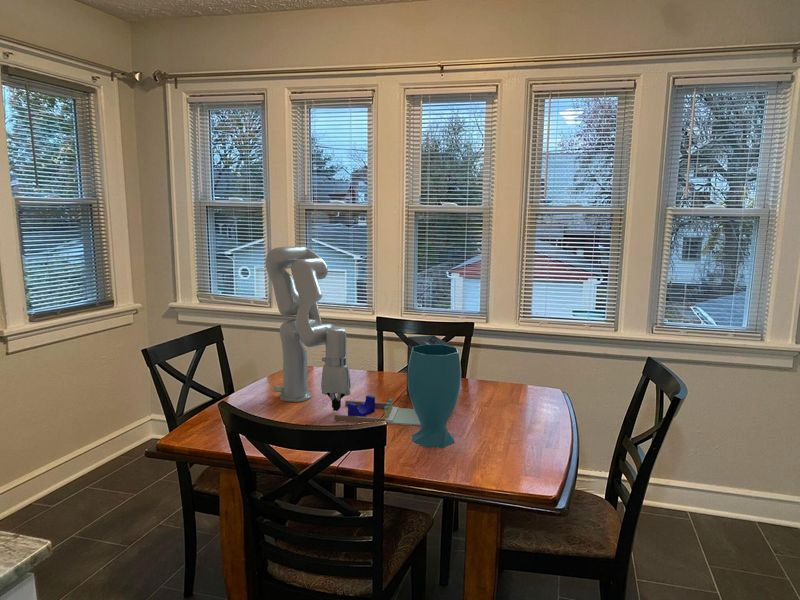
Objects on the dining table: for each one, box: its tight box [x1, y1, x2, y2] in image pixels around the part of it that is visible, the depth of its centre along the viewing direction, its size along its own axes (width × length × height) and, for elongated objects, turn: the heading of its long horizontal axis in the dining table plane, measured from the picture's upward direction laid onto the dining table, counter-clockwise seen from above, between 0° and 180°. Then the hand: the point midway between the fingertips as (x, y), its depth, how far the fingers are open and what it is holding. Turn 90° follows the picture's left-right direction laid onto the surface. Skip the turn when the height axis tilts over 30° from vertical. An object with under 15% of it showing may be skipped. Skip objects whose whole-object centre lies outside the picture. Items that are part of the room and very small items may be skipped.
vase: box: [408, 344, 462, 449], centre depth 179 cm, size 17×17×30 cm
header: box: [333, 398, 421, 427], centre depth 201 cm, size 33×17×5 cm, turn 81°
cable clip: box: [347, 394, 376, 417], centre depth 202 cm, size 12×4×6 cm, turn 145°
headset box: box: [406, 334, 454, 395], centre depth 217 cm, size 22×12×26 cm, turn 19°
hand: (336, 409), depth 204 cm, fingers closed
